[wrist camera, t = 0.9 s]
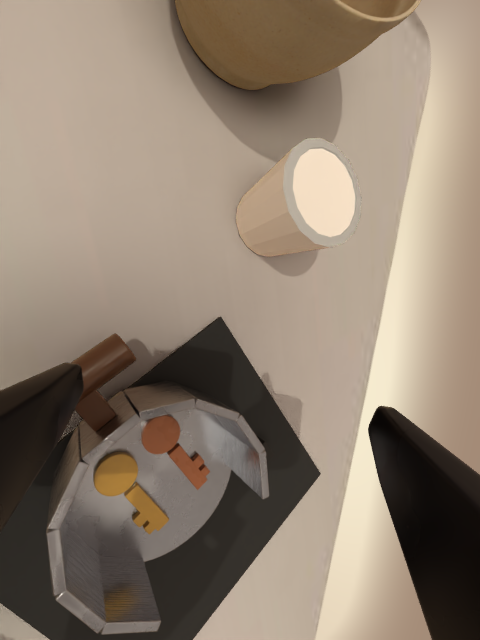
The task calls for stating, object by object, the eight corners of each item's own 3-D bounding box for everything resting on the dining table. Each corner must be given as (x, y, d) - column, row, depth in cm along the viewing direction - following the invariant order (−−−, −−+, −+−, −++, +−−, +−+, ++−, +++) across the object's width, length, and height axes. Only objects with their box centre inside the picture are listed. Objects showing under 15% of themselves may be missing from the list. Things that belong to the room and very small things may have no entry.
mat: (139, 701, 20) (145, 732, 19) (-73, 543, 15) (-89, 568, 14) (318, 472, 28) (332, 481, 27) (219, 316, 23) (229, 316, 22)
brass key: (83, 474, 17) (84, 478, 16) (120, 442, 18) (121, 445, 17) (146, 538, 19) (148, 543, 18) (177, 506, 20) (179, 510, 19)
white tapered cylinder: (240, 165, 24) (298, 113, 18) (304, 204, 27) (371, 171, 21) (219, 245, 23) (272, 218, 17) (287, 275, 26) (352, 262, 20)
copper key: (132, 433, 18) (133, 435, 18) (164, 405, 19) (166, 407, 19) (186, 496, 20) (189, 500, 19) (213, 468, 21) (216, 471, 20)
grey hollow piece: (133, 594, 19) (151, 678, 14) (-45, 433, 15) (-94, 481, 10) (254, 460, 23) (296, 493, 19) (144, 307, 19) (165, 303, 15)
